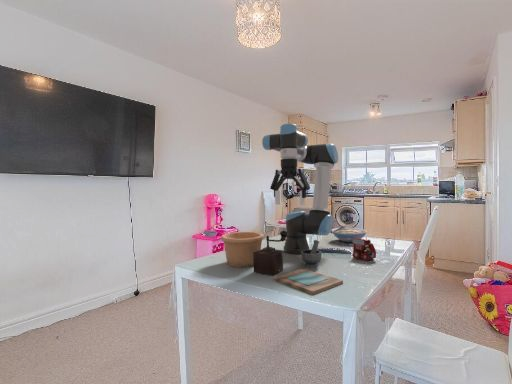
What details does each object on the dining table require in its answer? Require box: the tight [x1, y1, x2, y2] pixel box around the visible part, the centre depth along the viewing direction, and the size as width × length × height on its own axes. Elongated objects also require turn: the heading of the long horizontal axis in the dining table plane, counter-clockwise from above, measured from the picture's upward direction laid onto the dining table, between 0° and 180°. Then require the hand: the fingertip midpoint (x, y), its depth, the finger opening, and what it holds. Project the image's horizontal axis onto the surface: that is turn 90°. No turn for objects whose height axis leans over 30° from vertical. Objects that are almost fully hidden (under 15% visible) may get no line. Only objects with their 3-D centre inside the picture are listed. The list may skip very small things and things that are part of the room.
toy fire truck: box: [352, 238, 377, 262], centre depth 156 cm, size 7×12×10 cm, turn 42°
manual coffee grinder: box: [253, 230, 288, 277], centre depth 141 cm, size 16×11×18 cm
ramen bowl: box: [331, 225, 368, 243], centre depth 201 cm, size 25×23×8 cm
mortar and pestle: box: [300, 239, 322, 269], centre depth 146 cm, size 11×9×12 cm
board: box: [272, 268, 344, 295], centre depth 124 cm, size 22×18×1 cm
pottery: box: [220, 231, 265, 268], centre depth 154 cm, size 22×22×14 cm
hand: (289, 205), depth 138 cm, fingers open, 13 cm apart
